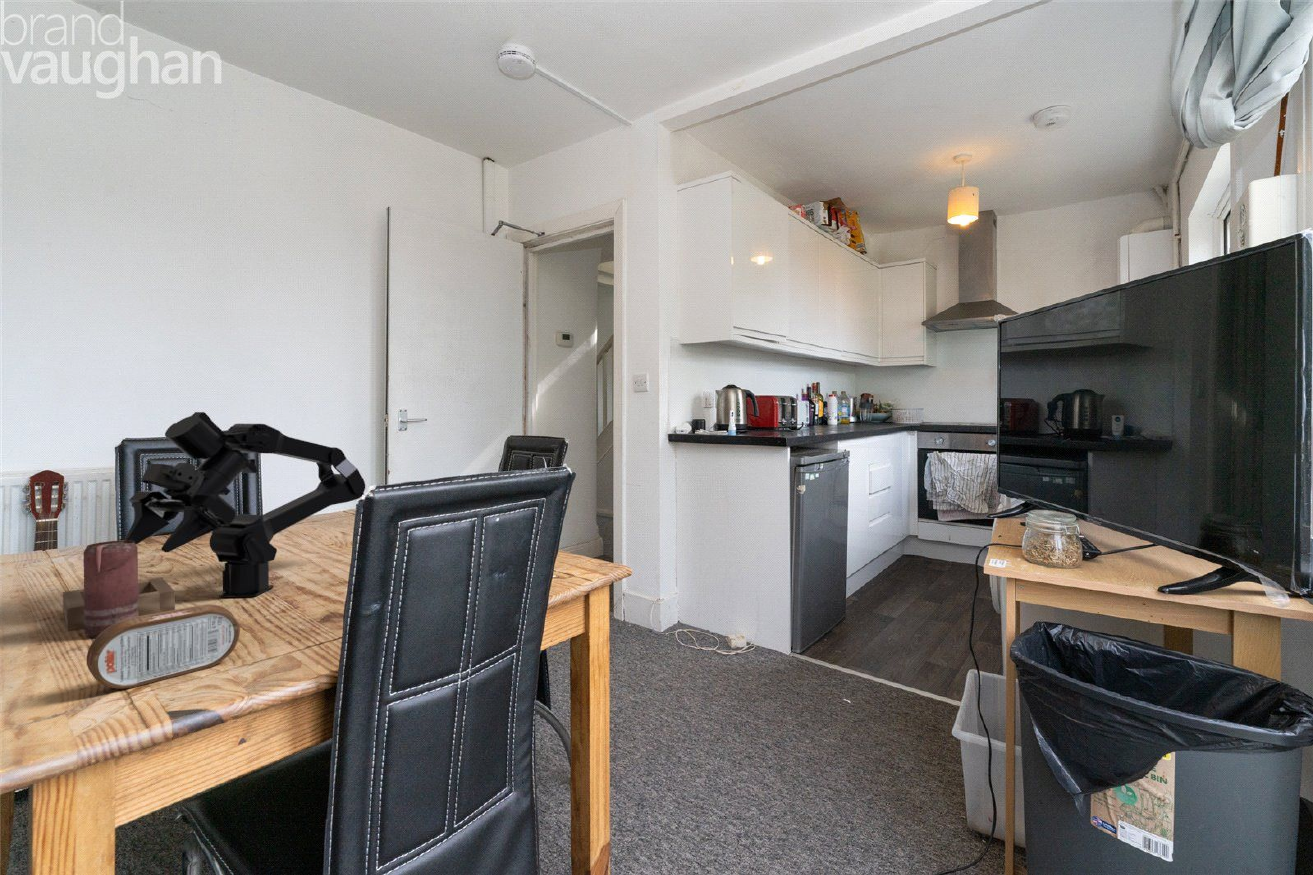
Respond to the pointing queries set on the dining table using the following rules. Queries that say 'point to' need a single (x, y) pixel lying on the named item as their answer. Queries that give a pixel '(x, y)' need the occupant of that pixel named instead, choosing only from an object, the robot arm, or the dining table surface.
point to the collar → (150, 601)
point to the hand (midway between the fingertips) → (144, 549)
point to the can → (109, 584)
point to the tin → (162, 645)
